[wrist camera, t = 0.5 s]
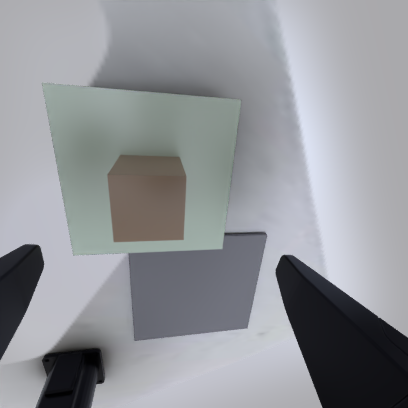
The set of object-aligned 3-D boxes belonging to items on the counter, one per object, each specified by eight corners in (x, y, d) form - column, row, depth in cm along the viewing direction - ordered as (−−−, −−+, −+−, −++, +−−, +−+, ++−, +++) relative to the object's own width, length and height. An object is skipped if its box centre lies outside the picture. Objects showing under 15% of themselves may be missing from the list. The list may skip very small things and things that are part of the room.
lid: (220, 244, 21) (238, 286, 17) (76, 249, 19) (49, 300, 14) (237, 99, 16) (270, 100, 12) (47, 83, 14) (-9, 76, 9)
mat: (246, 325, 33) (247, 328, 32) (134, 337, 30) (134, 340, 30) (265, 233, 27) (267, 235, 26) (128, 237, 24) (127, 239, 23)
